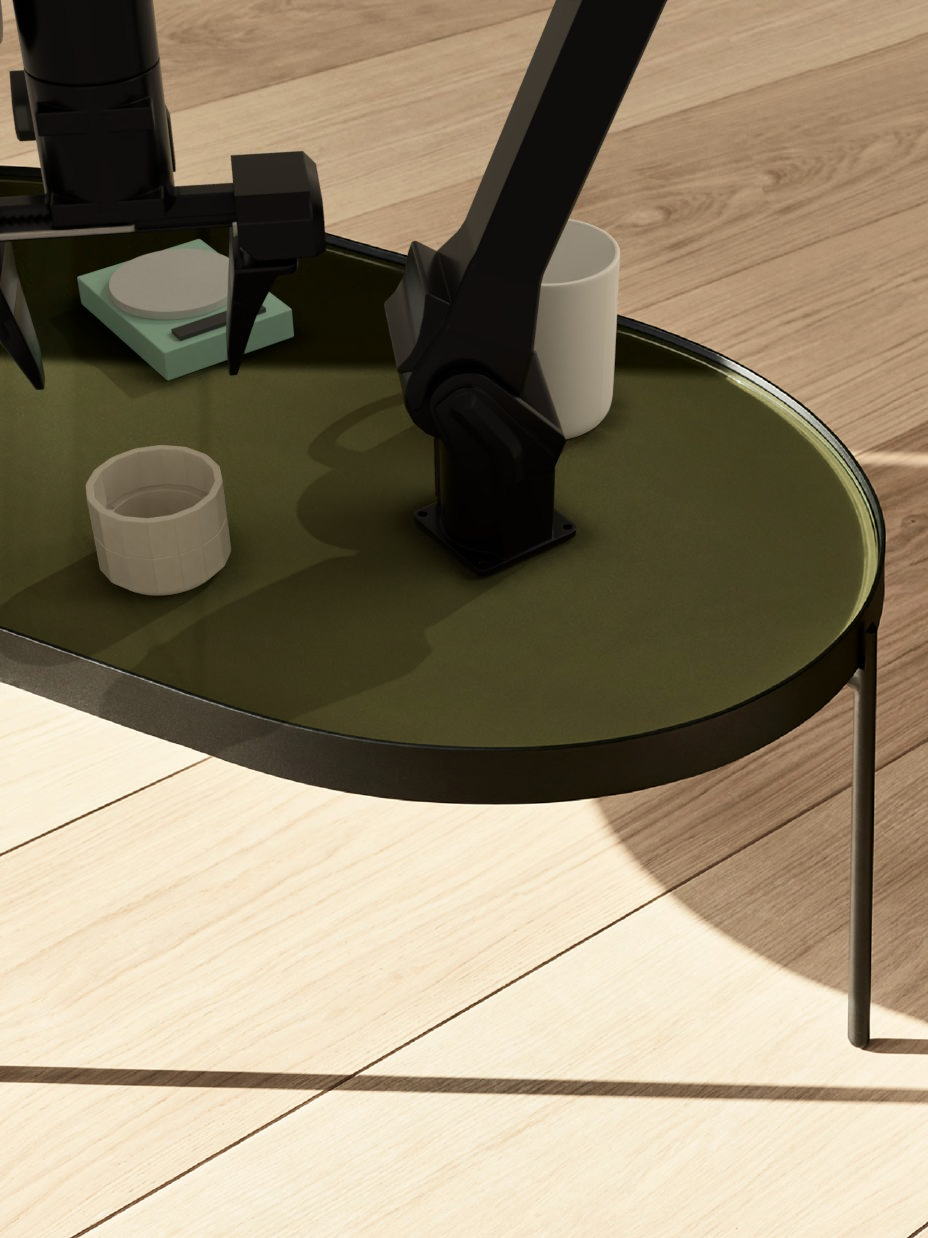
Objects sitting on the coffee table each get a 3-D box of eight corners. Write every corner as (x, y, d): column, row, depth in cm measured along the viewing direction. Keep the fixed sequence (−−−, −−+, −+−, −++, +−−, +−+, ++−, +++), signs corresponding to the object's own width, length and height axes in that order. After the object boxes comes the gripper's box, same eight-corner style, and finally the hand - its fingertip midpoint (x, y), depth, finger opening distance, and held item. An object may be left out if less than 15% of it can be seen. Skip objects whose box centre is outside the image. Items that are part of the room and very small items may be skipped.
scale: (294, 336, 106) (291, 300, 104) (167, 381, 102) (162, 343, 100) (202, 265, 114) (198, 229, 112) (81, 303, 110) (74, 267, 108)
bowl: (255, 569, 87) (246, 490, 84) (137, 618, 84) (123, 538, 81) (192, 508, 92) (181, 430, 89) (78, 552, 89) (63, 474, 86)
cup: (559, 461, 95) (564, 300, 88) (394, 394, 101) (387, 239, 94) (639, 397, 100) (648, 241, 93) (477, 338, 106) (476, 186, 99)
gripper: (298, -15, 79) (317, 285, 88) (-111, 5, 76) (-45, 311, 86) (316, 75, 70) (335, 397, 80) (-144, 101, 68) (-67, 427, 78)
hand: (137, 378), depth 81 cm, fingers open, 9 cm apart
